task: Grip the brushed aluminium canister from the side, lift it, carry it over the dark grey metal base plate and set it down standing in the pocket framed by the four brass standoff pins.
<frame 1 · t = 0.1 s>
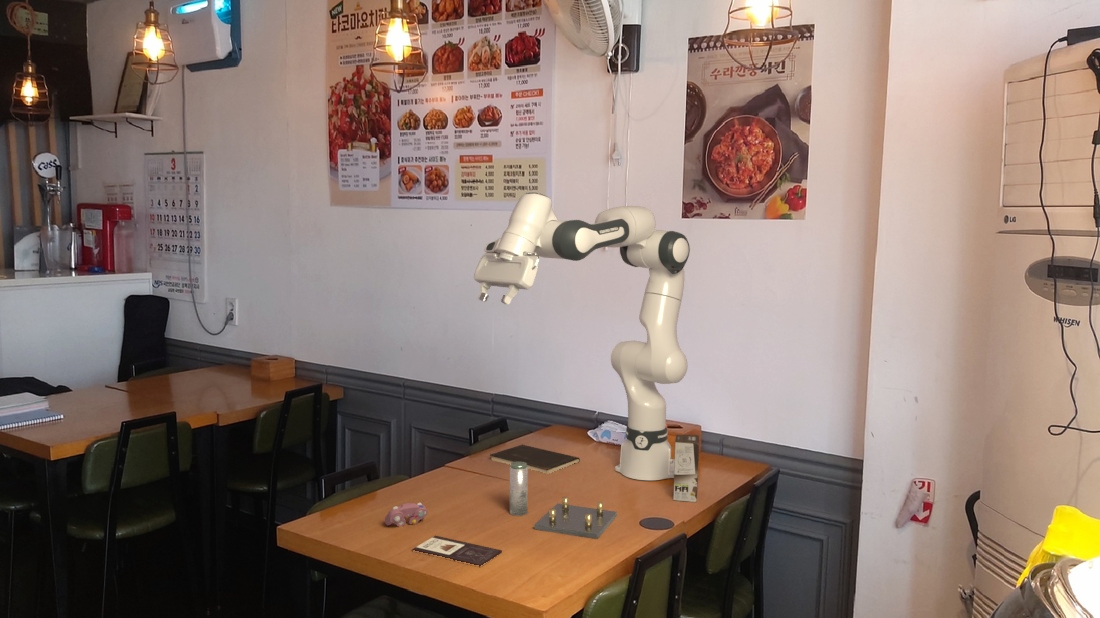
hand: (493, 301, 199), 54 cm above the table, tool tilted 30°, fingers open, 8 cm apart
video game controller: (406, 525, 199), on the table
coffee box: (685, 496, 221), on the table
chocolate bar: (457, 554, 182), on the table
canister: (518, 512, 207), on the table
hardcover book: (534, 463, 252), on the table
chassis: (576, 522, 201), on the table
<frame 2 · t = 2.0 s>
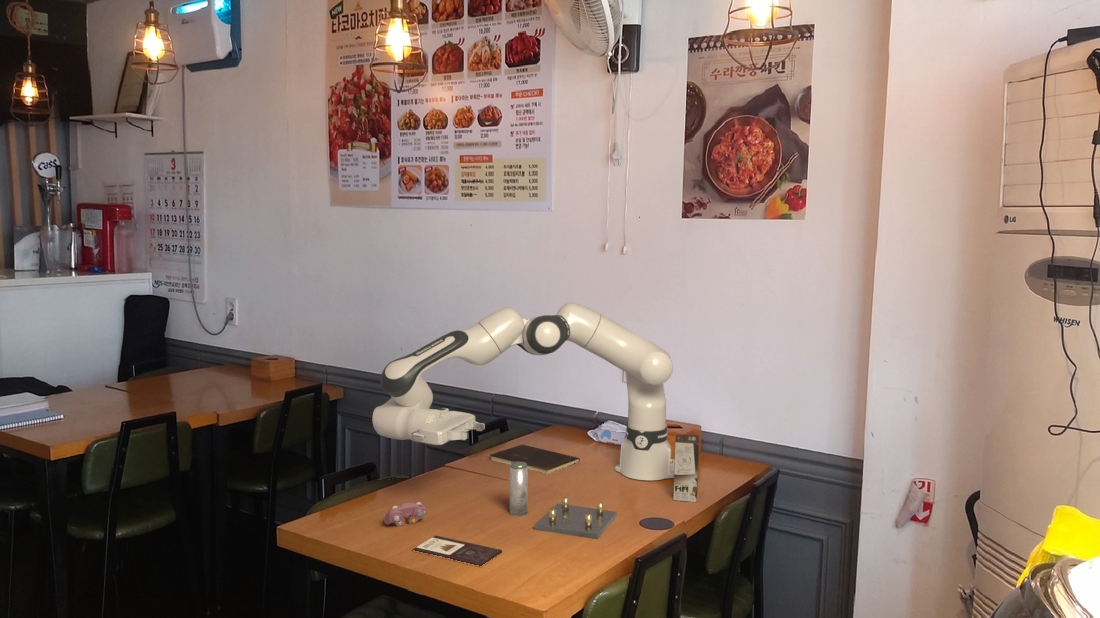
hand: (475, 431, 210), 20 cm above the table, tool horizontal, fingers open, 8 cm apart
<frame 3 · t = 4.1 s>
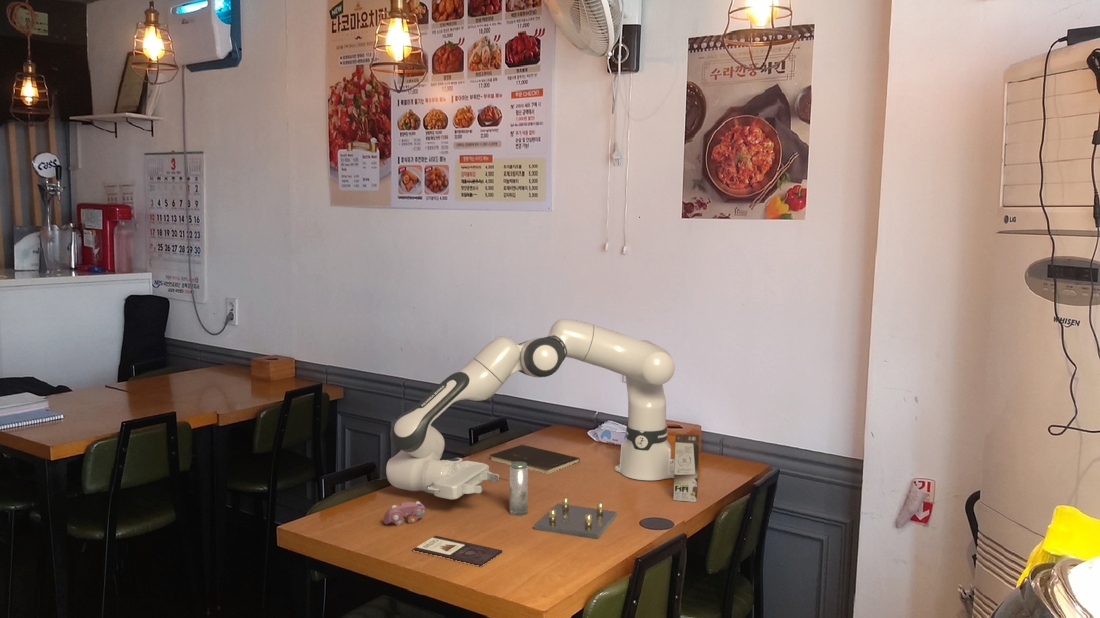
hand: (490, 483, 210), 6 cm above the table, tool horizontal, fingers open, 8 cm apart
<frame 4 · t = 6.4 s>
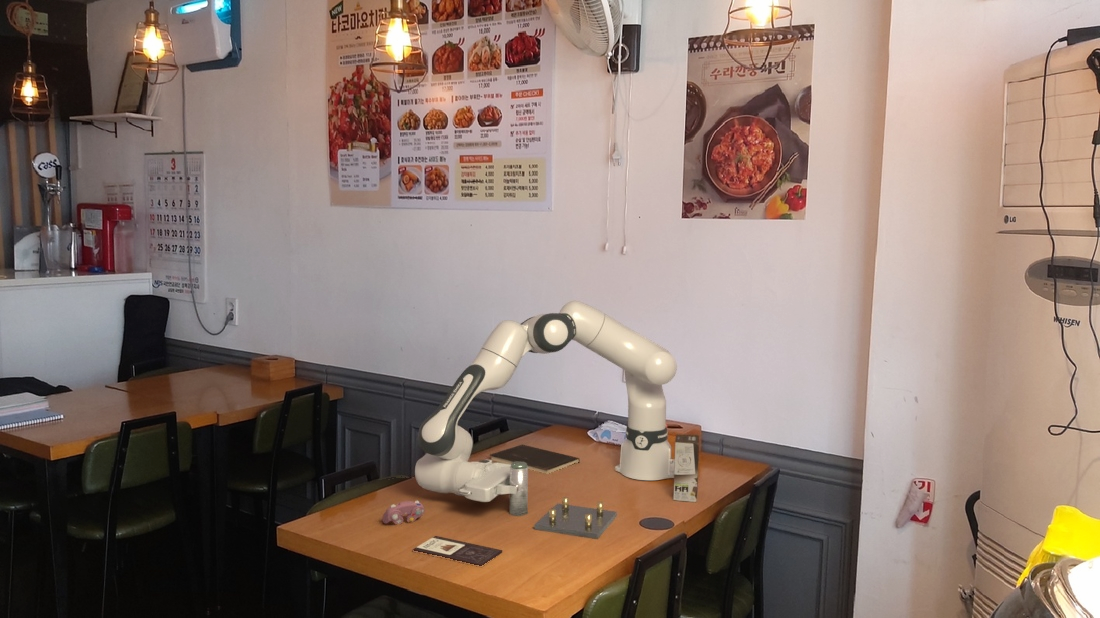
hand: (521, 486, 206), 7 cm above the table, tool horizontal, fingers closed on canister, 5 cm apart
canister: (518, 512, 207), on the table, touching gripper
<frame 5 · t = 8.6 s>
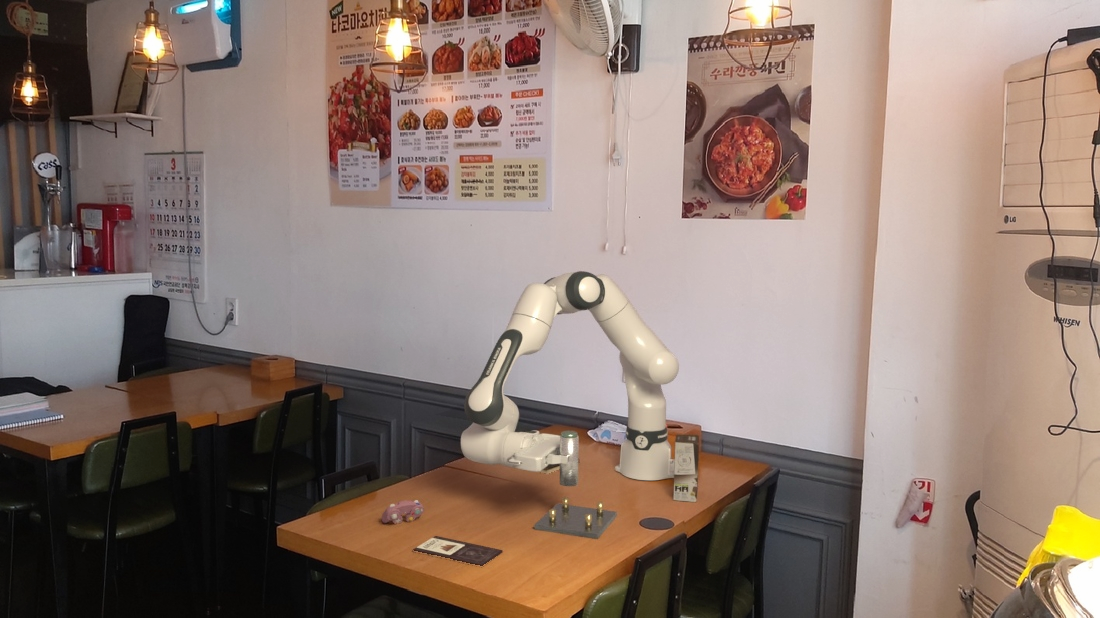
hand: (572, 456, 200), 17 cm above the table, tool horizontal, fingers closed on canister, 5 cm apart
canister: (568, 483, 201), point 10 cm above the table, touching gripper
when the fingers open (9 cm above the table, at t = 11.0 s): canister drops 1 cm, resting on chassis.
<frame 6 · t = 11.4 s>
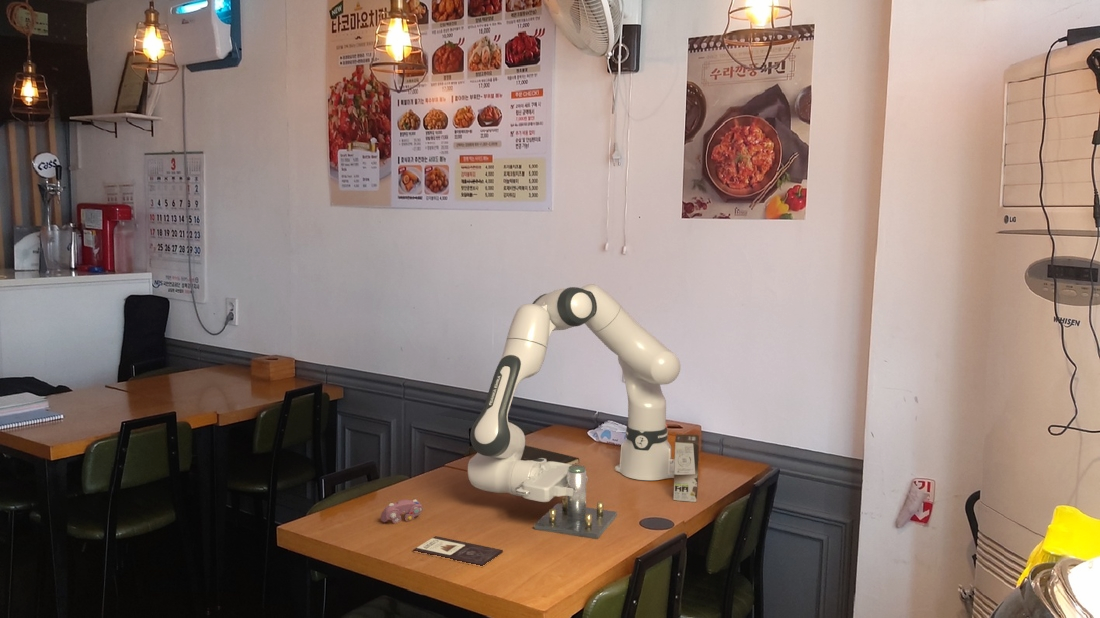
hand: (580, 485, 199), 9 cm above the table, tool horizontal, fingers open, 8 cm apart
canister: (576, 517, 201), point 1 cm above the table, touching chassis
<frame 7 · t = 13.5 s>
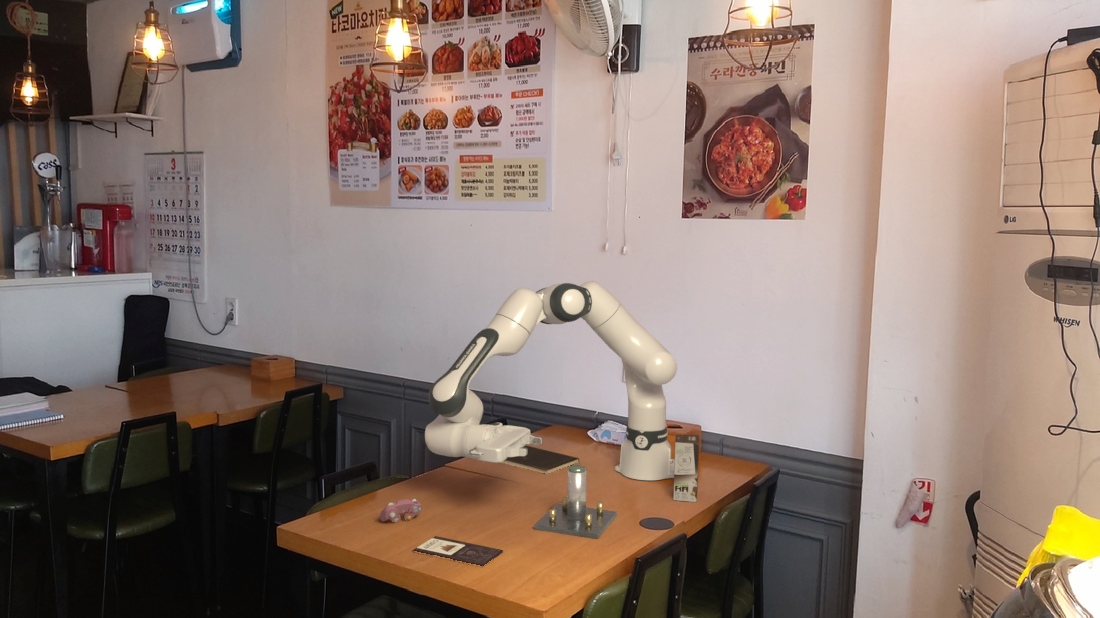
hand: (533, 446, 203), 18 cm above the table, tool horizontal, fingers open, 8 cm apart
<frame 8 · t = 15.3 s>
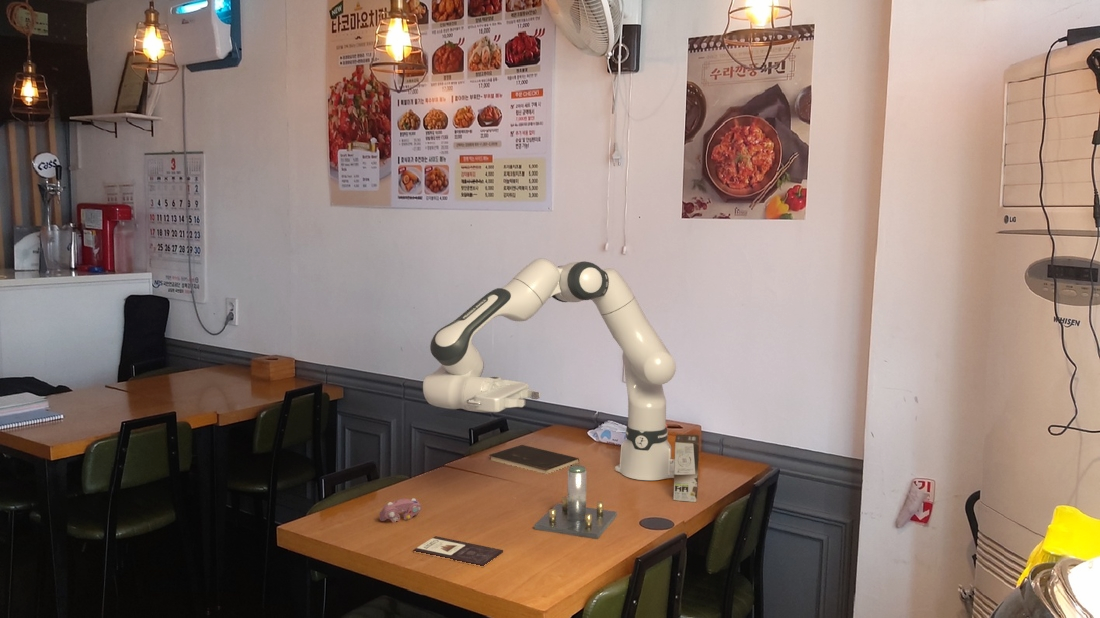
hand: (531, 399, 202), 30 cm above the table, tool horizontal, fingers open, 8 cm apart
at the end: canister 0.1 cm from the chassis (horizontally); canister tilted 0°; canister touching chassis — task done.
